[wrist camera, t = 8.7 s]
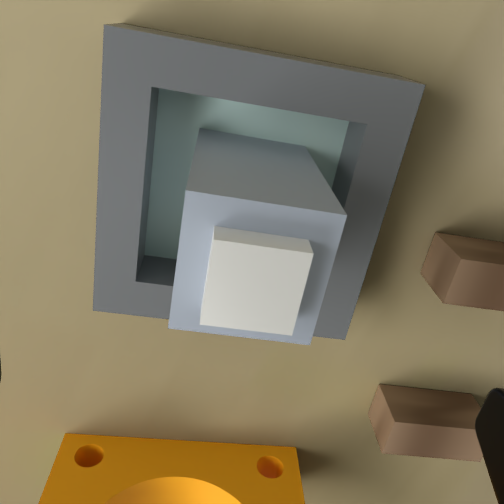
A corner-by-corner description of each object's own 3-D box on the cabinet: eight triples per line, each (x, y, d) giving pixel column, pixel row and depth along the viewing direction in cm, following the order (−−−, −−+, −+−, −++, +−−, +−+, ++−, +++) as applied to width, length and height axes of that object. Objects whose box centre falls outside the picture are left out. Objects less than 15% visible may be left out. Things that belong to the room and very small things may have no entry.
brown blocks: (542, 248, 21) (579, 275, 19) (457, 422, 26) (480, 461, 23) (435, 232, 21) (461, 258, 18) (367, 413, 25) (381, 453, 23)
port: (399, 75, 18) (425, 84, 15) (332, 305, 22) (344, 339, 20) (121, 22, 16) (103, 24, 14) (107, 277, 21) (92, 310, 18)
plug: (304, 146, 18) (355, 227, 11) (282, 240, 20) (314, 363, 13) (199, 127, 18) (182, 202, 11) (186, 226, 19) (164, 346, 12)
